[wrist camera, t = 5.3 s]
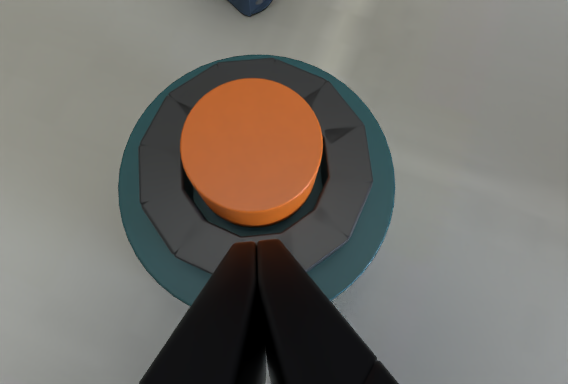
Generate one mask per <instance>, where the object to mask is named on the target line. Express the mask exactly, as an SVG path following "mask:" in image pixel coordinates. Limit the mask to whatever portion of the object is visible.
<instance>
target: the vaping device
mask: <svg viewBox="0 0 568 384" xmlns="http://www.w3.org/2000/svg"><path fill="white" fill-rule="evenodd" d="M228 1H229V2H230V3H231V4H233V5H234V6H235V7H236V8H237V9H238V10H239V11H240V12H241V13H243V14H244V15H247V16H251V14H255V13H258V12H260V11H262V10H263V9H265V8H266V7H267V6H268V5H269V4H270V3H271V2H272V0H228Z"/></svg>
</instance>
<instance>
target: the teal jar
mask: <svg viewBox="0 0 568 384" xmlns="http://www.w3.org/2000/svg"><path fill="white" fill-rule="evenodd" d="M263 58H274V59H278V60H280V61H283V62H285V63H288V64H290V65H293V66H295V67H297V68H300V69H302V70H305V71H307V72H309V73H312V74H314V75H317V76H319V77H322V78H324V79H326V80H327V81H330V83H331V84H332V85H333V86H334V88H335V89H336V90H337V91H338V93H339V94H340V95H341V96H342V97H343V99H344V100H345V101H346V102H347V104H348V105H349V106H350V107H351V109H352V110H353V111H354V112H355V114H356V115H357V116H358V117H359V119H360V120H361V121H362V122H363V124H364V125H365V129H366V136H367V142H368V149H369V155H370V162H371V169H372V175H373V183H372V188H371V190H370V193H369V195H368V197H367V200H366V202H365V204H364V207H363V209H362V212H361V214H360V216H359V219H358V221H357V224H356V226H355V228H354V231H353V233H352V236H351V237H350V238H349V240H348V241H347V242H346V243H345V244H344V245H343V246H342V247H341V248H340V249H338V250H337V251H336V252H334V253H333V254H331V255H330V256H329V257H327V258H326V259H325V260H323V261H322V262H321V263H319V264H318V265H316V266H315V267H314V268H312V269H311V270H310V271H308V272H307V273H308V275H309V276H310V277H311V278H312V280H313V281H314V282H315V283H316V284H317V286H318V287H319V288H320V289H321V290H322V292H323V293H324V294H325V295H326V297H327V298H328V299H329V300H330V301H332V300H333V299H334V298H336V297H337V296H338V295H339V294H341V293H342V292H343V291H344V290H346V289H347V288H348V287H349V286H351V285H352V284H353V283H354V282H355V281H356V280H357V279H358V277H359V276H360V275H361V274H362V273H363V272H364V271H365V270H366V268H367V267H368V266H369V264H370V263H371V261H372V260H373V259H374V257H375V256H376V254H377V252H378V250H379V248H380V246H381V244H382V243H383V241H384V238H385V235H386V233H387V230H388V227H389V224H390V221H391V216H392V212H393V207H394V196H395V177H394V168H393V163H392V157H391V153H390V150H389V147H388V144H387V141H386V138H385V136H384V134H383V132H382V130H381V128H380V126H379V124H378V122H377V121H376V119H375V118H374V116H373V115H372V113H371V112H370V110H369V109H368V107H367V106H366V105H365V104H364V103H363V102H362V100H361V99H360V98H359V97H358V96H357V95H356V94H355V93H354V92H353V91H352V90H351V89H349V88H348V87H347V86H346V85H345V84H344V83H342V82H341V81H339V80H338V79H336V78H335V77H333V76H332V75H330V74H329V73H327V72H325V71H323V70H321V69H319V68H317V67H315V66H312V65H310V64H307V63H304V62H302V61H298V60H294V59H290V58H286V57H280V56H272V55H244V56H235V57H230V58H226V59H222V60H217V61H215V62H212V63H209V64H206V65H204V66H201V67H199V68H197V69H195V70H193V71H191V72H189V73H187V74H185V75H184V76H182V77H181V78H179V79H178V80H176V81H175V82H173V83H172V84H171V85H170V86H168V87H167V88H166V89H165V90H164V91H163V92H161V93H160V94H159V95H158V96H157V97H156V98H155V100H154V101H153V102H152V103H151V104H150V105H149V106H148V107H147V109H146V110H145V112H144V113H143V114H142V116H141V117H140V119H139V120H138V122H137V124H136V125H135V127H134V129H133V131H132V133H131V135H130V137H129V140H128V142H127V145H126V148H125V150H124V154H123V158H122V162H121V167H120V173H119V184H118V192H119V207H120V212H121V218H122V223H123V226H124V229H125V232H126V235H127V238H128V240H129V242H130V244H131V246H132V248H133V250H134V252H135V254H136V256H137V257H138V259H139V260H140V262H141V263H142V265H143V266H144V268H145V269H146V271H147V272H148V273H149V274H150V275H151V276H152V277H153V278H154V279H155V280H156V281H157V283H158V284H159V285H161V286H162V287H163V288H164V289H165V290H167V291H168V292H169V293H170V294H172V295H173V296H174V297H176V298H177V299H179V300H181V301H182V302H184V303H185V304H187V305H189V306H191V305H192V304H193V302H194V301H195V299H196V298H197V296H198V295H199V293H200V292H201V290H202V289H203V287H204V286H205V284H206V283H207V281H208V280H209V278H210V277H211V276H212V275H211V274H209V273H207V272H205V271H203V270H201V269H199V268H196V267H194V266H192V265H190V264H188V263H186V262H184V261H182V260H179V259H177V258H175V255H173V254H172V253H171V252H170V250H169V249H168V247H167V246H166V244H165V243H164V241H163V240H162V238H161V237H160V235H159V234H158V232H157V230H156V229H155V227H154V226H153V224H152V223H151V221H150V220H149V218H148V217H147V215H146V214H145V212H144V211H143V209H142V206H141V204H140V200H139V160H138V147H139V146H140V141H141V140H142V138H143V136H144V134H145V133H146V131H147V129H148V127H149V125H150V124H151V122H152V120H153V118H154V117H155V115H156V113H157V111H158V109H159V108H160V106H161V104H162V102H163V101H164V99H165V97H166V96H167V95H168V94H169V92H171V91H172V90H174V89H176V88H177V87H179V86H180V85H182V84H184V83H185V82H187V81H188V80H190V79H192V78H193V77H195V76H196V75H198V74H200V73H201V72H203V71H204V70H206V69H208V68H209V67H211V66H212V65H214V64H217V63H218V62H227V61H239V60H251V59H263ZM322 188H323V184H322V176H321V168H320V166H319V169H318V173H317V176H316V179H315V183H314V186H313V188H312V191H311V193H310V195H309V197H308V199H307V200H306V202H305V203H304V204H303V206H302V207H301V208H300V209H299V210H298V211H297V212H295V213H294V214H293V215H292V216H290V217H289V218H287V219H285V220H283V221H281V222H279V223H277V224H273V225H270V226H265V227H244V226H240V225H236V224H233V223H230V222H228V221H226V220H224V219H222V218H221V217H219V216H218V215H217V214H215V213H214V212H213V211H212V210H211V209H210V208H209V207H208V206H207V204H206V203H205V202H204V200H203V199H202V198H201V196H200V195H199V193H198V192H197V190H196V189H195V188H194V186H193V198H194V202H195V204H196V205H197V207H198V208H199V209H200V211H201V212H202V214H203V215H204V217H205V218H206V220H207V221H208V222H211V223H213V224H215V225H217V226H219V227H222V228H224V229H226V230H228V231H230V232H233V233H235V234H237V235H239V236H251V235H261V234H271V233H281V232H283V231H284V230H285V229H287V228H288V227H290V226H291V225H292V224H294V223H295V222H297V221H298V220H299V219H301V218H302V217H304V216H305V215H307V214H308V213H309V212H311V211H312V210H313V209H314V206H315V204H316V202H317V200H318V197H319V195H320V193H321V191H322Z"/></svg>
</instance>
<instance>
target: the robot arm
mask: <svg viewBox="0 0 568 384" xmlns="http://www.w3.org/2000/svg"><path fill="white" fill-rule="evenodd" d="M266 356H267V364H268V370H269V376H270V381H271V384H399V383H398V382H397V381H396V380H395V379H394V378H393V376H392V375H391V374H390V373H389V371H388V370H387V369H386V368H385V367H384V365H383V364H382V363H381V362H380V361H377V357H376V356H375V355H374V354H373V352H372V351H371V350H370V349H369V347H368V346H367V345H366V344H365V343H364V341H363V340H362V339H361V338H360V337H359V335H358V334H357V333H356V332H355V331H354V329H353V328H352V327H351V326H350V324H349V323H348V322H347V321H346V320H345V318H344V317H343V316H342V315H341V314H340V312H339V311H338V310H337V309H336V307H335V306H334V305H333V304H332V303H331V301H330V300H329V299H328V298H327V297H326V295H325V294H324V293H323V292H322V290H321V289H320V288H319V287H318V286H317V284H316V283H315V282H314V281H313V280H312V278H311V277H310V276H309V275H308V273H307V272H306V271H305V270H304V269H303V267H302V266H301V265H300V264H299V263H298V261H297V260H296V259H295V258H294V256H293V255H292V254H291V253H290V252H289V250H288V249H287V248H286V247H285V246H284V244H283V243H282V242H281V241H280V240H279V239H270V240H260V241H258V242H257V246H256V243H255V242H253V241H250V242H239V243H234V244H233V245H232V246H231V247H230V249H229V250H228V252H227V253H226V255H225V256H224V258H223V259H222V261H221V262H220V264H219V265H218V267H217V268H216V270H215V271H214V273H213V274H212V276H211V277H210V278H209V280H208V281H207V283H206V284H205V286H204V287H203V289H202V290H201V292H200V293H199V295H198V296H197V298H196V299H195V301H194V302H193V304H192V305H191V307H190V308H189V310H188V311H187V313H186V314H185V316H184V317H183V319H182V320H181V321H180V323H179V324H178V326H177V327H176V329H175V330H174V332H173V333H172V335H171V336H170V338H169V339H168V341H167V342H166V344H165V345H164V347H163V348H162V350H161V351H160V353H159V354H158V356H157V357H156V359H155V360H154V362H153V363H152V365H151V366H150V367H149V369H148V370H147V372H146V373H145V375H144V376H143V378H142V379H141V381H140V382H139V384H265V381H266Z"/></svg>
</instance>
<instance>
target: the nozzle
mask: <svg viewBox="0 0 568 384" xmlns="http://www.w3.org/2000/svg"><path fill="white" fill-rule="evenodd" d="M322 151H323V137H322V132H321V127H320V125H319V122H318V119H317V117H316V115H315V113H314V111H313V110H312V109H311V107H310V106H309V104H308V103H307V102H306V101H305V100H304V99H303V98H302V97H301V96H300V95H299V94H297V93H296V92H295V91H293V90H292V89H290V88H289V87H287V86H285V85H283V84H280V83H277V82H275V81H271V80H267V79H260V78H244V79H237V80H233V81H230V82H227V83H224V84H222V85H219V86H218V87H216V88H214V89H212V90H211V91H209V92H208V93H207V94H205V95H204V96H203V97H202V98H201V99H200V100H199V101H198V102H197V103H196V104H195V106H194V107H193V108H192V110H191V111H190V113H189V114H188V116H187V118H186V121H185V123H184V126H183V129H182V132H181V138H180V154H181V160H182V164H183V168H184V170H185V172H186V175H187V177H188V178H189V180H190V182H191V183H192V185H193V186H194V188H195V189H196V190H197V192H198V193H199V195H200V196H201V198H202V199H203V200H204V202H205V203H206V204H207V206H208V207H209V208H210V209H211V210H212V211H213V212H214V213H215V214H217V215H218V216H219V217H221V218H222V219H224V220H226V221H228V222H230V223H233V224H236V225H240V226H244V227H265V226H270V225H273V224H277V223H279V222H281V221H283V220H285V219H287V218H289V217H290V216H292V215H293V214H294V213H295V212H297V211H298V210H299V209H300V208H301V207H302V206H303V204H304V203H305V202H306V200H307V199H308V197H309V195H310V193H311V191H312V188H313V186H314V183H315V179H316V176H317V173H318V169H319V166H320V162H321V158H322Z"/></svg>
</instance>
